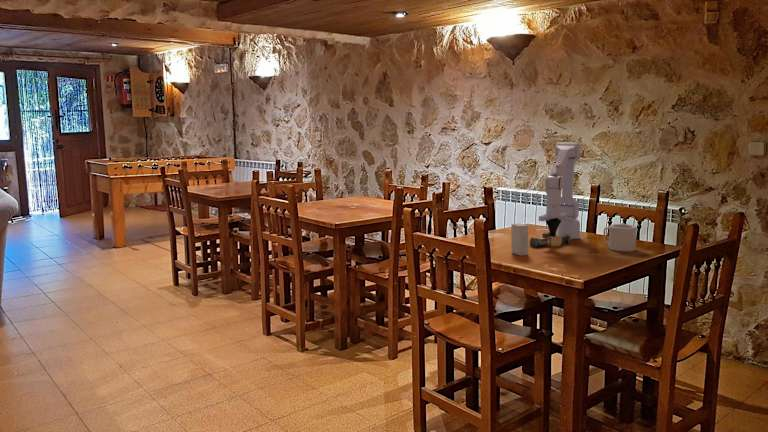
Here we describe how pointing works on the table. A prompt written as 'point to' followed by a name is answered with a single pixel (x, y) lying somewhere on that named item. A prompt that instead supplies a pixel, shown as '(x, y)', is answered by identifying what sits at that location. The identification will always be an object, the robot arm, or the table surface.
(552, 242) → the valve body
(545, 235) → the lever
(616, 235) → the mug
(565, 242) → the pipe
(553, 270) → the table surface
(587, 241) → the table surface
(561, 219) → the robot arm
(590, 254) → the table surface
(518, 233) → the skincare box
